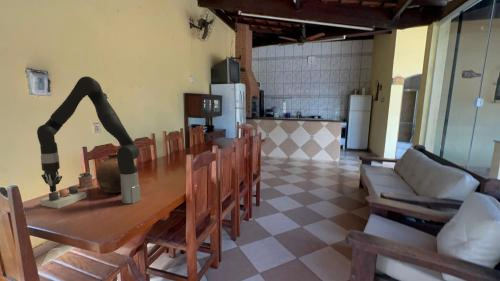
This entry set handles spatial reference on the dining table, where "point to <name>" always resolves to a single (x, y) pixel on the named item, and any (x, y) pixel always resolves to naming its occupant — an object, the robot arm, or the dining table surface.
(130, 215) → the dining table surface
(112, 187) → the pottery
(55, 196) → the black knob left
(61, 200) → the control panel
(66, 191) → the terracotta knob middle
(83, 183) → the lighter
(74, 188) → the black knob right
